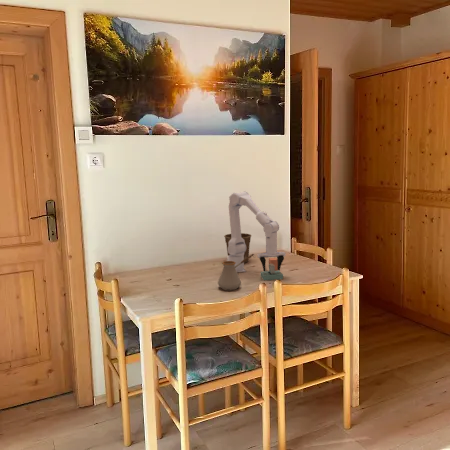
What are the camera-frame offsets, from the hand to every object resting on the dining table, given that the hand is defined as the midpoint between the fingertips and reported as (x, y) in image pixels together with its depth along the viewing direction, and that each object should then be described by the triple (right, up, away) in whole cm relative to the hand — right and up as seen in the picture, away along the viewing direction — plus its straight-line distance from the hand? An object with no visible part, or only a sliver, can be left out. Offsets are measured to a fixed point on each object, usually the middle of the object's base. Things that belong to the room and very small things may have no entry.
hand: (271, 270), depth 242 cm
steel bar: (0, -4, +1) cm, 4 cm away
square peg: (+2, -2, +13) cm, 13 cm away
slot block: (0, -4, +1) cm, 4 cm away
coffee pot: (-18, -7, -13) cm, 23 cm away
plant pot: (-16, +1, +36) cm, 40 cm away
